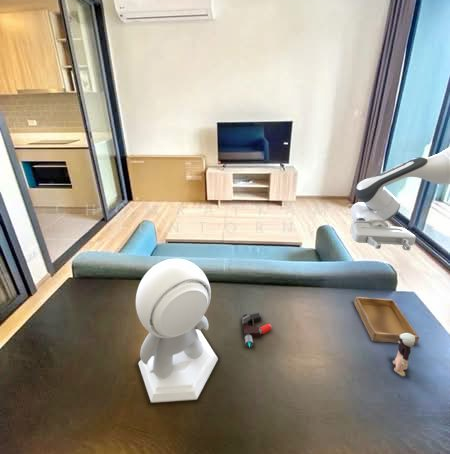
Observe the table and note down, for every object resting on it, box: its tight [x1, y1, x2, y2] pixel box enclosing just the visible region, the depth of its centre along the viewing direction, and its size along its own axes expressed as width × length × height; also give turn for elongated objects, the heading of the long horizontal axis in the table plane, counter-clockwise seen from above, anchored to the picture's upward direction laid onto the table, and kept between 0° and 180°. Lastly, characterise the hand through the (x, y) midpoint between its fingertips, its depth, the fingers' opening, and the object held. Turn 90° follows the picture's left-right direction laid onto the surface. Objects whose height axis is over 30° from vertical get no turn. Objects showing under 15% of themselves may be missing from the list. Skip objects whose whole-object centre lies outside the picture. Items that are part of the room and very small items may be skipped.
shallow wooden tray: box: [353, 296, 420, 346], centre depth 85 cm, size 13×15×4 cm
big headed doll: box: [135, 258, 219, 404], centre depth 66 cm, size 20×23×35 cm
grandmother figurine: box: [392, 333, 415, 377], centre depth 69 cm, size 8×4×13 cm, turn 165°
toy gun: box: [241, 312, 272, 348], centre depth 81 cm, size 10×12×5 cm
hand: (393, 247), depth 84 cm, fingers open, 8 cm apart
